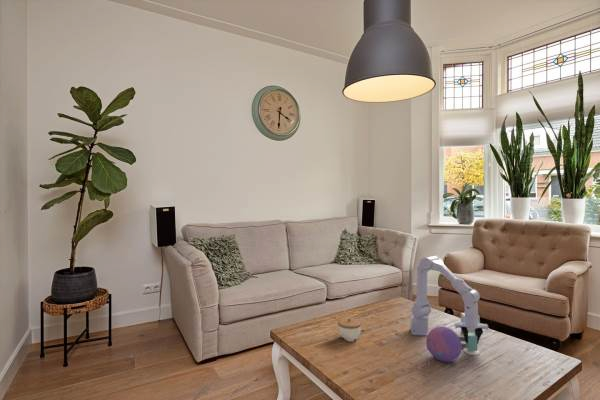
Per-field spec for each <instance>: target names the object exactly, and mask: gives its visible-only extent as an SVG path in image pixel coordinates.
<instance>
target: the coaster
mask: <svg viewBox="0 0 600 400" xmlns="http://www.w3.org/2000/svg"><path fill="white" fill-rule="evenodd" d="M463 352H464V353H465V354H467V355H470V356H479V355H480V350H479V349H477V351H471V350H468V349H467V348H463Z"/></svg>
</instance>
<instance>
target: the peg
mask: <svg viewBox="0 0 600 400" xmlns="http://www.w3.org/2000/svg"><path fill="white" fill-rule="evenodd" d="M466 348H467V349H468V350H471V351H477V350H478V344H477V336H476V334H475V333H468V343H466Z"/></svg>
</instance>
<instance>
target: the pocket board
mask: <svg viewBox="0 0 600 400" xmlns="http://www.w3.org/2000/svg"><path fill="white" fill-rule="evenodd" d="M457 335H458V337H459V338H460V341H461V345H462V348H463V349H464V348H466V342H465V338H464V335H463V334H457Z"/></svg>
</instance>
